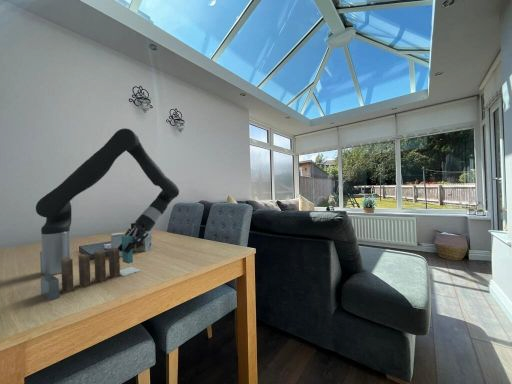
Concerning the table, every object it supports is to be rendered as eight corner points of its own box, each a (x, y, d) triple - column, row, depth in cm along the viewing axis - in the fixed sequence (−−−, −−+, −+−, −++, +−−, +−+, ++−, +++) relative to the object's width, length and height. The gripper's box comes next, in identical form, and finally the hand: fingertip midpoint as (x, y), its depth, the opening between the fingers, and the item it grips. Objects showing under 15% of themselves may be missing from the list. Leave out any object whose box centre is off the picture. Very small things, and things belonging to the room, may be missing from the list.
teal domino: (128, 263, 92) (127, 237, 91) (122, 261, 94) (121, 236, 94) (132, 262, 93) (131, 236, 93) (127, 260, 96) (125, 235, 96)
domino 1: (67, 293, 75) (65, 260, 75) (62, 289, 78) (60, 258, 78) (73, 291, 76) (72, 259, 76) (68, 287, 79) (67, 257, 79)
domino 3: (100, 282, 83) (99, 253, 83) (95, 279, 86) (94, 251, 86) (106, 280, 85) (105, 252, 85) (100, 278, 88) (99, 250, 87)
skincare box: (111, 258, 114) (110, 235, 114) (111, 256, 118) (110, 233, 118) (125, 256, 118) (124, 233, 118) (124, 254, 122) (123, 232, 122)
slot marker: (123, 276, 88) (123, 275, 88) (114, 272, 93) (114, 272, 93) (140, 270, 94) (140, 270, 94) (131, 267, 99) (131, 267, 99)
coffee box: (131, 251, 127) (130, 223, 127) (138, 248, 134) (137, 221, 133) (145, 251, 126) (144, 223, 126) (152, 248, 132) (151, 221, 132)
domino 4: (115, 277, 87) (114, 250, 87) (109, 275, 90) (108, 248, 90) (120, 276, 89) (119, 249, 89) (114, 273, 92) (113, 247, 92)
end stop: (49, 300, 70) (48, 281, 70) (41, 294, 75) (40, 276, 75) (59, 297, 72) (58, 279, 72) (51, 291, 77) (50, 274, 77)
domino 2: (84, 287, 79) (83, 256, 79) (79, 284, 82) (78, 254, 82) (90, 285, 81) (89, 255, 80) (85, 282, 83) (84, 253, 83)
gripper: (134, 213, 104) (107, 244, 94) (151, 214, 96) (123, 248, 86) (146, 222, 108) (121, 253, 98) (163, 224, 100) (137, 258, 90)
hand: (122, 251), depth 92 cm, fingers closed on teal domino, 5 cm apart
